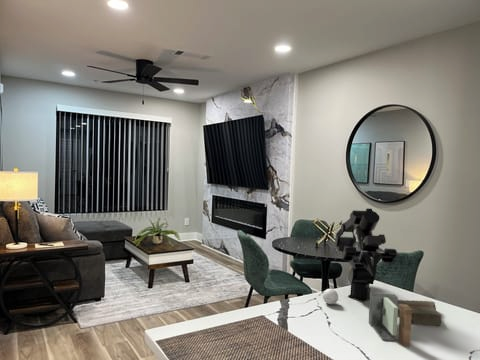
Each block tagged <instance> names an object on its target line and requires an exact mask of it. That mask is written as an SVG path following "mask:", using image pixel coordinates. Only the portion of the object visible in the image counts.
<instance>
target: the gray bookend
mask: <svg viewBox="0 0 480 360" xmlns="http://www.w3.org/2000/svg"><path fill="white" fill-rule="evenodd" d="M384 298H388V299H389V300H390V301H392V302H393V303H394V304H395V305H396V306H397V303H398V300H399V299H398V298H399V296H397V295H396V294H393V293H375V292H374V293H371V292H370V299H369V310H368V324H369V326H370V327H371V328H372V329H373V330H374V331H375V333H376V334H377V335H378V337H379V338H380V339H381V340H382V341H392V342H393V341H394V342H396V341H397V337H395V336H396V335H392V334H391V333H390V332H389V331H388V329H387V328H386V327H385V326H384V325H383V323H382V322H383V315H382V308H383V303H384Z"/></svg>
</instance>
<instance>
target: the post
mask: <svg viewBox="0 0 480 360" xmlns="http://www.w3.org/2000/svg"><path fill="white" fill-rule="evenodd" d="M399 307H400V317H399V321H398V322H399V323H398V339H397V340H398V341H399V342H400V343H401V345H402V346H403V347H405V348H407V347H411V332H412V331H411V330H412V323H411V316H412V313H413V310H412V309H411V308H410V307H409V306H408V305H404V304H399Z"/></svg>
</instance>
